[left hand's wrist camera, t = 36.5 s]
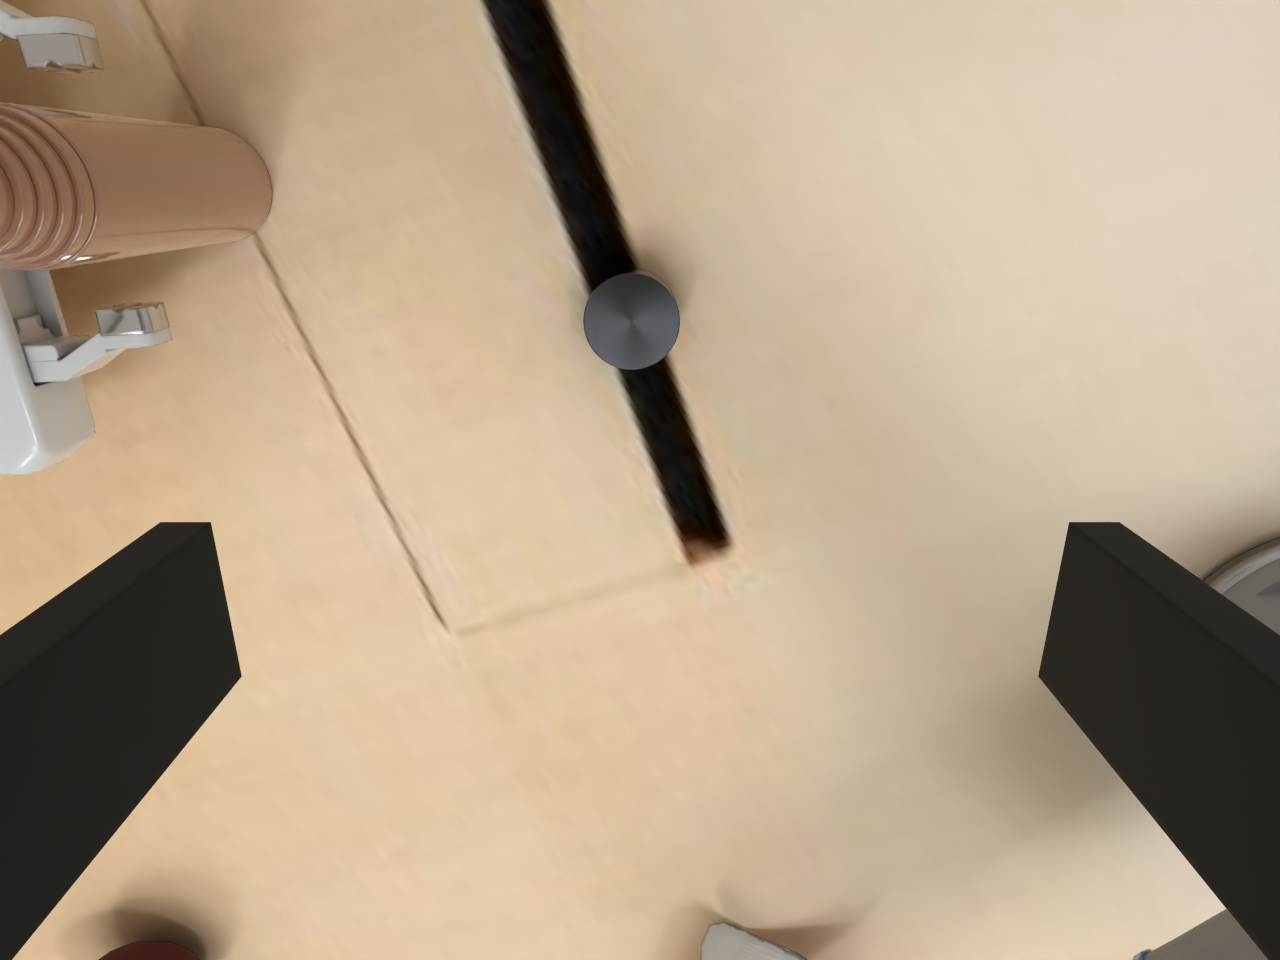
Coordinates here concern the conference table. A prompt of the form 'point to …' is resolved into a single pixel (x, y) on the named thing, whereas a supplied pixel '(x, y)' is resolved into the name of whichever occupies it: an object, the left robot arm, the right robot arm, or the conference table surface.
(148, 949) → the dark maroon ball
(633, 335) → the cap
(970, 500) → the conference table surface
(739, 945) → the fish
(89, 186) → the bottle
